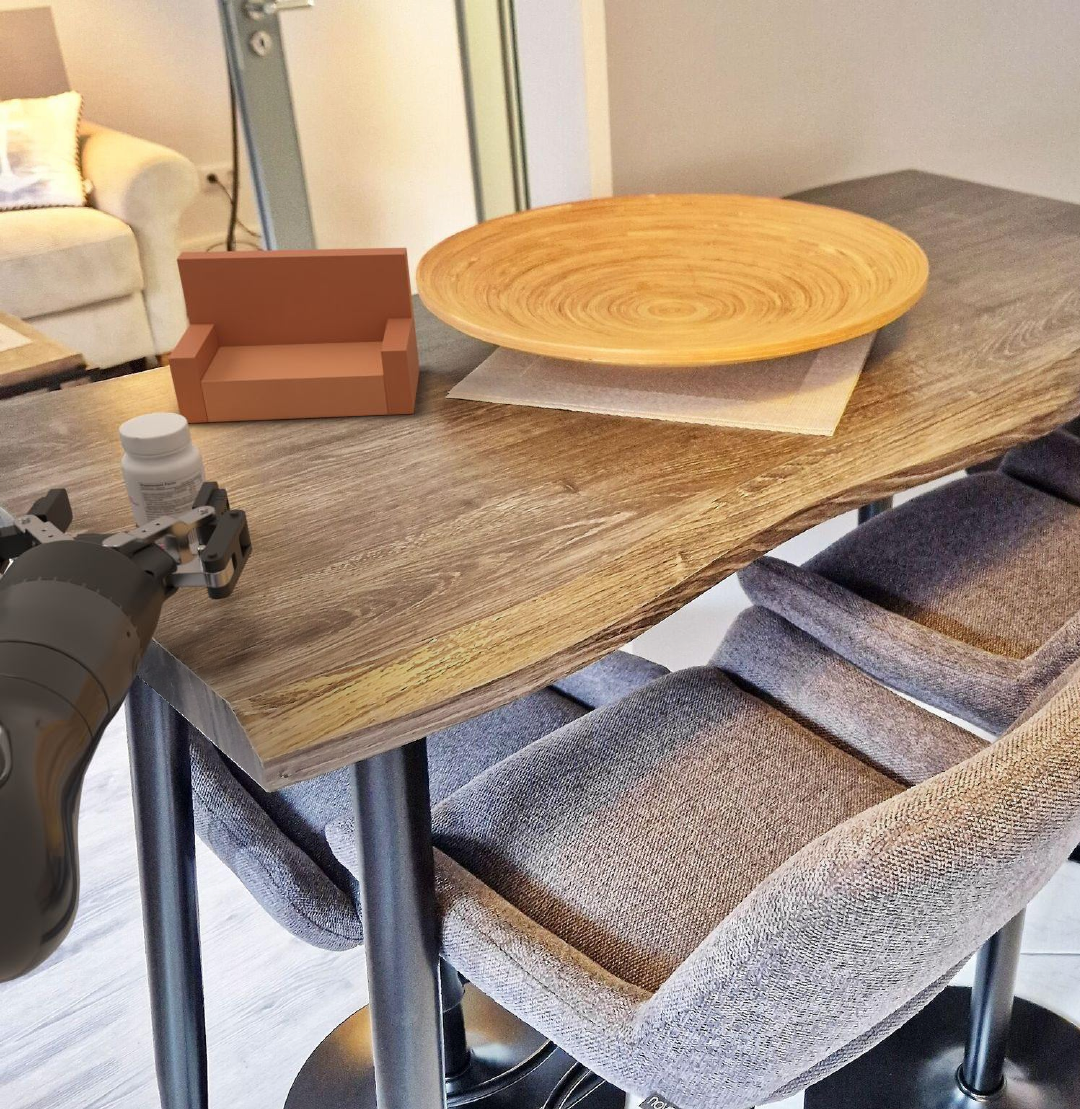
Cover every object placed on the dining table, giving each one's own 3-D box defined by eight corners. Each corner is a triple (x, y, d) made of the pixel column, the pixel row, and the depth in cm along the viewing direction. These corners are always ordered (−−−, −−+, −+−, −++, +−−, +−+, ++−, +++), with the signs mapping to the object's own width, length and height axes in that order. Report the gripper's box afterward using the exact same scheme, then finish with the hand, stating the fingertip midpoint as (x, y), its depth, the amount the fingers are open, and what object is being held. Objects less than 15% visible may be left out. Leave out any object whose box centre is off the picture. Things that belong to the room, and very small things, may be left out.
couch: (181, 423, 98) (152, 289, 92) (206, 377, 106) (181, 252, 101) (413, 413, 101) (398, 282, 95) (419, 369, 109) (406, 247, 104)
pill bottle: (144, 529, 83) (116, 413, 78) (219, 520, 84) (196, 406, 80) (137, 563, 79) (107, 443, 75) (216, 553, 80) (192, 435, 76)
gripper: (195, 573, 59) (252, 435, 73) (-129, 592, 57) (-7, 446, 71) (223, 699, 63) (273, 545, 77) (-80, 722, 61) (27, 559, 74)
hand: (139, 498), depth 74 cm, fingers open, 8 cm apart
